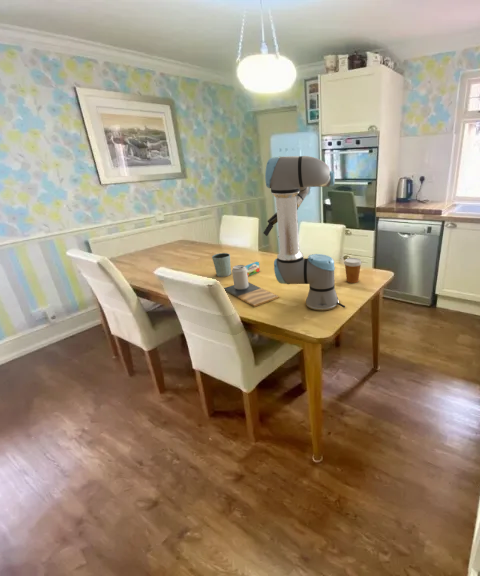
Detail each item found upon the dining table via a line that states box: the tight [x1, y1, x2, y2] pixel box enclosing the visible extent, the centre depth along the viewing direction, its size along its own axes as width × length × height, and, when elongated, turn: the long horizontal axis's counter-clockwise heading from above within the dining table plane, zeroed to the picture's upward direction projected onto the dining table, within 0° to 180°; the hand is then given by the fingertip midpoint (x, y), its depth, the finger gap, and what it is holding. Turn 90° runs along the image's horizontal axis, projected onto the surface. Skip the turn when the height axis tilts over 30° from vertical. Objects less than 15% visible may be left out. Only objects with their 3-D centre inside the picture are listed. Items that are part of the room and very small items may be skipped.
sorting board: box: [223, 281, 279, 308], centre depth 163 cm, size 30×14×1 cm, turn 44°
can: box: [231, 264, 249, 290], centre depth 166 cm, size 8×8×12 cm
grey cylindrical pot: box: [211, 252, 232, 278], centre depth 189 cm, size 10×10×12 cm
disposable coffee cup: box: [343, 257, 362, 284], centre depth 174 cm, size 10×10×12 cm
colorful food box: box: [244, 261, 261, 277], centre depth 190 cm, size 12×2×6 cm, turn 145°
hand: (272, 236), depth 169 cm, fingers open, 13 cm apart
